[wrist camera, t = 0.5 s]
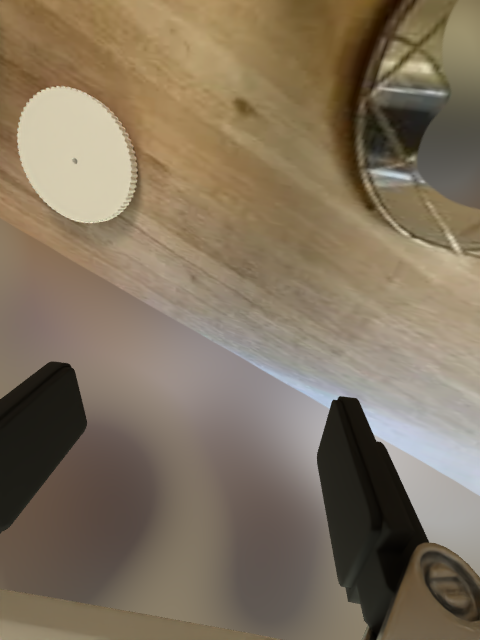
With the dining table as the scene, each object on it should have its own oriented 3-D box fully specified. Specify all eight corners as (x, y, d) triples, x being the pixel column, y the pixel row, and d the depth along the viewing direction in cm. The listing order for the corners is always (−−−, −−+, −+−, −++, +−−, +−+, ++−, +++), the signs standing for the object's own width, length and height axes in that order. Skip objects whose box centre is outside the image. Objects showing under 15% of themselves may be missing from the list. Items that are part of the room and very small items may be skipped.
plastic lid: (131, 236, 38) (122, 239, 35) (33, 199, 37) (17, 199, 34) (151, 121, 32) (141, 115, 29) (34, 73, 31) (15, 63, 28)
